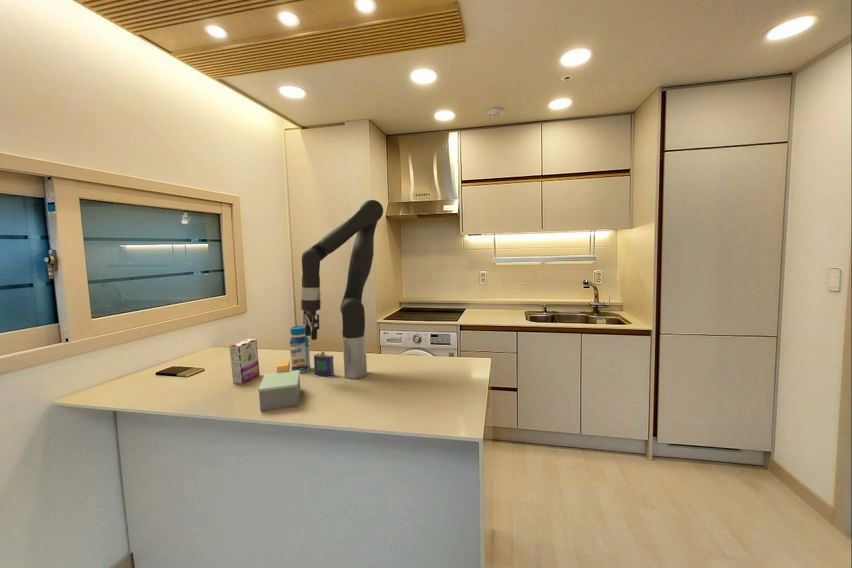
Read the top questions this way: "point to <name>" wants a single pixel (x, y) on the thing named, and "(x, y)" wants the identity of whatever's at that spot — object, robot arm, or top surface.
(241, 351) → the candy bar box
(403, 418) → the top surface
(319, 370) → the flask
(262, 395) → the tub
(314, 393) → the top surface
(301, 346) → the beverage bottle
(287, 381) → the lid
